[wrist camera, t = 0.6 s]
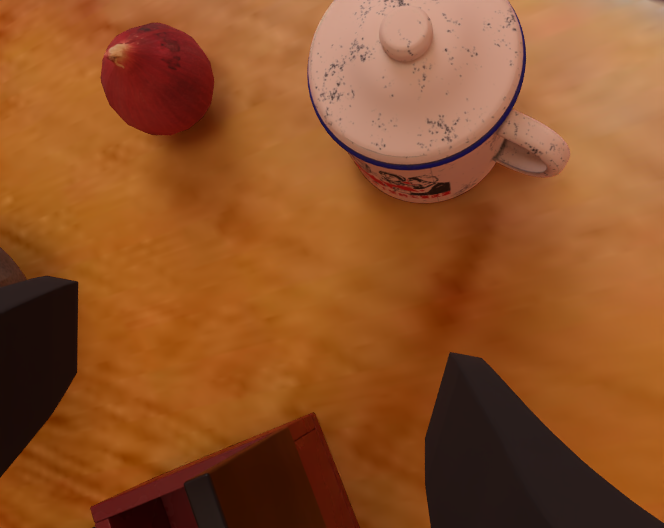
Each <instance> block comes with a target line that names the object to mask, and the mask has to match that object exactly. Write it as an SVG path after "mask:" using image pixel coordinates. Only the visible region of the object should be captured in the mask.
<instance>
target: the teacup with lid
mask: <svg viewBox="0 0 664 528" xmlns="http://www.w3.org/2000/svg"><path fill="white" fill-rule="evenodd" d="M525 64H526V48H525V41H524V35H523V31H522V27H521V25H520V22H519V19H518V17H517V15H516V13H515V11H514V9H513V7H512V6H511V4H510V3H509V1H508V0H334V1H333V3H332V4H331V5H330V6H329V8H328V9H327V11H326V12H325V14H324V15H323V17H322V19H321V21H320V23H319V25H318V27H317V29H316V32H315V34H314V37H313V41H312V44H311V48H310V53H309V60H308V88H309V93H310V98H311V101H312V104H313V107H314V110H315V112H316V115H317V117H318V118H319V120H320V122H321V124H322V125H323V127H324V128H325V130H326V131H327V133H328V134H329V135H330V136H331V137H332V138H333V140H334V141H336V142H337V143H338V144H339V145H340V146H341V147H342V148H343V149H345V150H346V151H347V152H348V153H349V155H350V156H351V157H352V159H353V160H354V162H355V163H356V165H357V166H358V168H359V169H360V170H361V172H362V173H363V175H364V176H365V177H366V178H367V179H368V180H369V181H370V182H371V183H372V184H373V185H374V186H375V187H377V188H378V189H379V190H381V191H383V192H384V193H386V194H388V195H390V196H392V197H394V198H397V199H400V200H404V201H408V202H414V203H433V202H440V201H444V200H448V199H451V198H454V197H456V196H458V195H461V194H463V193H464V192H466V191H468V190H470V189H471V188H472V187H474V186H475V185H477V184H478V183H479V182H480V181H481V180H482V179H483V178H484V177H485V176H486V175H487V174H488V173H489V172H490V170H491V169H492V168H493V166H494V165H495V163H496V162H497V163H499V164H501V165H504V166H506V167H508V168H510V169H512V170H515V171H517V172H520V173H523V174H526V175H530V176H535V177H552V176H555V175H557V174H559V173H560V172H561V171H562V170H563V168H564V167H565V165H566V164H567V162H568V160H569V157H570V149H569V147H568V145H567V143H566V142H565V141H564V140H563V139H562V138H561V137H560V136H559V135H558V134H557V133H556V132H555V131H553V130H552V129H550V128H549V127H547V126H546V125H544V124H543V123H541V122H539V121H537V120H535V119H533V118H531V117H529V116H527V115H525V114H523V113H521V112H518V111H516V110H514V109H512V108H513V106H514V104H515V102H516V100H517V97H518V95H519V92H520V89H521V86H522V83H523V78H524V73H525Z"/></svg>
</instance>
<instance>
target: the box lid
mask: <svg viewBox="0 0 664 528" xmlns="http://www.w3.org/2000/svg"><path fill="white" fill-rule="evenodd" d="M184 488H185V491H186V494H187V497H188V500H189V503H190V506H191V509H192V512H193V515H194V517H195V520H196V523H197V526H198V528H327V527H326V524H325V522H324V519H323V517H322V514H321V511H320V509H319V506H318V503H317V501H316V498H315V496H314V493H313V490H312V488H311V485H310V482H309V480H308V477H307V475H306V472H305V469H304V467H303V464H302V461H301V459H300V456H299V454H298V451H297V448H296V446H295V443H294V440H293V438H292V435H291V433H290V430H289V428H288V427H285V428H283V429H280V430H278V431H275V432H273V433H271V434H270V435H268V436H266V437H264V438H262V439H261V440H259V441H257V442H255V443H253V444H252V445H250V446H248V447H246V448H244V449H243V450H241V451H239V452H237V453H235V454H234V455H232V456H230V457H228V458H227V459H225V460H223V461H221V462H219V463H218V464H216V465H214V466H212V467H210V468H209V469H207V470H205V471H203V472H201V473H200V474H198V475H196V476H194V477H192V478H191V479H189V480H187V481H185V482H184Z"/></svg>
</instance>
